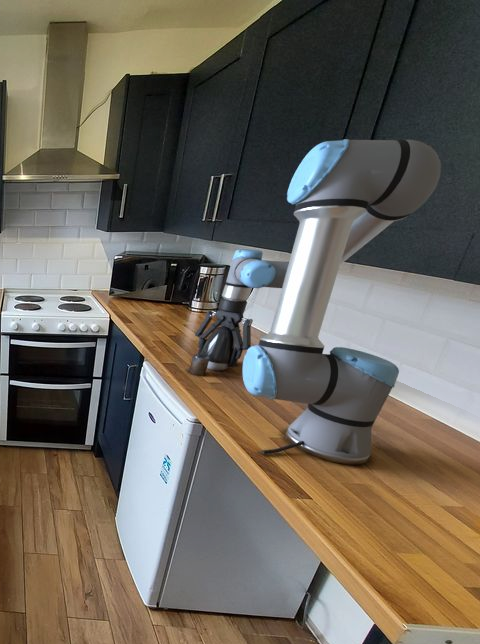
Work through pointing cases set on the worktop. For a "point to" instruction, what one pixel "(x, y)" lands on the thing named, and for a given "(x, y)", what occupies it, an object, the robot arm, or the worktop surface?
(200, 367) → the dark brown cylinder
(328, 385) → the robot arm
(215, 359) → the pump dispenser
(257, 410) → the worktop surface
